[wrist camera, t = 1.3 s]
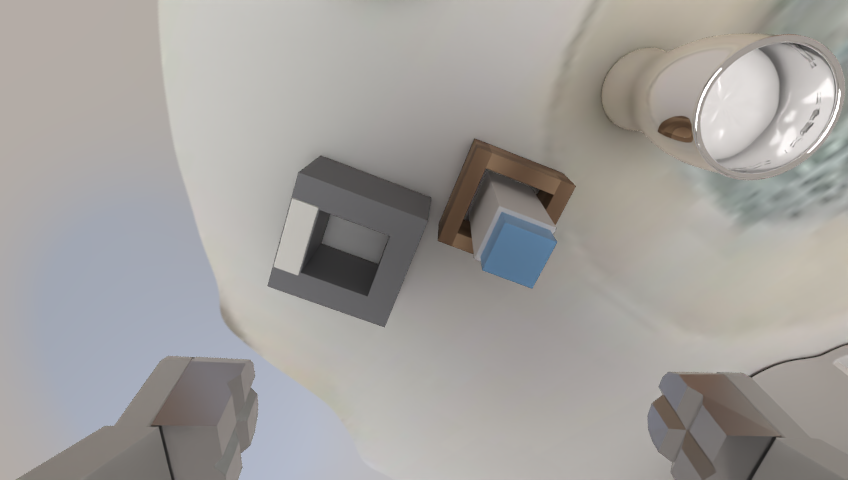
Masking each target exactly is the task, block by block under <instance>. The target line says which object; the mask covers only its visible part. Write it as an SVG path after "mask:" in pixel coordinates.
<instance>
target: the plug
mask: <svg viewBox="0 0 848 480" xmlns="http://www.w3.org/2000/svg"><path fill="white" fill-rule="evenodd" d="M469 219H470V227H471V235H472V244H473V252H474V259H475V260H478V261H480V262H481V265H482V270H483V271H486V272H488V273H491V274H494V275H497V276H499V277H502V278H505V279H507V280H510V281H513V282H516V283H518V284H521V285H524V286H526V287H529V288H533V286H534V284H535V283H536V281H537V279H538V277H539V275H540V273H541V271H542V270H543V268H544V266H545V264H546V262H547V260H548V258H549V257H550V255H551V253H552V251H553V249H554V247H555V245H556V244H557V241H556V239H555V237H554V236H553V234H554V232H555V230H556V229H557V228H556V226H555V224H554V223H553V221H552V220H551V218H550V216H549V215H548V213H547V212H546V210H545V208H544V207H543V205H542V204H541V202H540V200H539V199H538V197H537V196H536V194H535V192H534V191H533V189H532V188H531V186H528V185H525V184H523V183H520V182H518V181H515V180H513V179H510V178H508V177H505V176H502V175H500V174H497V173H495V172H492V171H490V170H487V171H486V174H485V176H484V178H483V180H482V183H481V185H480V187H479V189H478V192H477V194H476V196H475V199H474V201H473V203H472V205H471V208H470V210H469Z"/></svg>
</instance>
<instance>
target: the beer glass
mask: <svg viewBox="0 0 848 480" xmlns="http://www.w3.org/2000/svg"><path fill="white" fill-rule="evenodd" d="M844 96H845V81H844V75H843V71H842V68H841V66H840V63H839V62H838V60H837V58H836V57H835V55H834V54H833V53H832V52H831V51H830V50H829V49H828V48H827V47H826V46H825V45H823V44H822V43H820V42H818V41H816V40H814V39H812V38H809V37H806V36H801V35H794V34H783V35H775V34H758V33H739V34H725V35H718V36H711V37H706V38H702V39H699V40H696V41H693V42H690V43H687V44H684V45H682V46H680V47H677V48H675V49H673V50H670V51H668V52H667V51H665V50H662V49H659V48H651V47H649V48H641V49H637V50H634V51H632V52H630V53H628V54H626V55H625V56H623V57H622V58H620V59H619V60H618V61H617V62H616V63H615V64H614V65H613V66H612V68H611V69H610V70H609V72H608V74H607V76H606V78H605V80H604V83H603V87H602V93H601V99H602V105H603V109H604V111H605V113H606V115H607V116H608V118H609V119H610V120H611V121H612V122H613V123H614V124H615V125H617V126H618V127H620V128H623V129H626V130H630V131H642V132H643V133H644V134H645V135H646V136H647V138H648V139H649V140H650V141H651V142H652V143H654V144H655V145H656V146H657V147H658V148H660V149H661V150H662V151H663V152H665V153H666V154H668V155H670V156H672V157H674V158H676V159H678V160H680V161H682V162H684V163H687V164H689V165H692V166H695V167H698V168H701V169H704V170H708V171H711V172H715V173H719V174H722V175H725V176H727V177H730V178H734V179H740V180H759V179H765V178H770V177H773V176H776V175H779V174H782V173H784V172H786V171H788V170H790V169H792V168H794V167H796V166H797V165H799V164H800V163H802V162H803V161H805V160H806V159H807V158H809V157H810V156H811V155H812V154H813V153H814V152H815V151H816V150H817V149H818V148H819V147H820V146H821V145H822V144H823V143H824V142H825V140H826V139H827V138H828V136H829V135H830V133H831V132H832V130H833V128H834V127H835V125H836V123H837V121H838V119H839V116H840V113H841V110H842V107H843V103H844Z"/></svg>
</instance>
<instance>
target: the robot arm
mask: <svg viewBox="0 0 848 480" xmlns="http://www.w3.org/2000/svg"><path fill="white" fill-rule="evenodd" d="M254 378H255V371H254V365H253V362H252V361H251V360H247V359H227V358H208V357H179V356H167V357H166V358H164V359H162V360H161V361H160V362H159V364H158V365H157V367H156V368H155V369H154V371H153V372H152V374H151V375H150V376H149V378H148V379H147V380H146V382H145V383H144V385H143V386H142V387H141V389H140V390H139V392H138V393H137V394H136V396H135V397H134V399H133V400H132V402H131V403H130V404H129V406H128V407H127V409H126V410H125V411H124V413H123V414H122V416H121V417H120V419H119V420H118V421H117V423H116V424H115V425H114V426H104V427H102V428H101V429H99V430H98V431H96V432H94V433H92V434H91V435H89V436H87V437H86V438H84V439H82V440H81V441H79V442H77V443H76V444H74V445H72V446H71V447H69V448H68V449H66V450H64V451H62V452H61V453H59V454H58V455H56V456H54V457H53V458H51V459H49V460H48V461H46V462H44V463H43V464H41V465H39V466H38V467H36V468H34V469H33V470H31V471H30V472H28V473H26V474H24V475H23V476H21V477H19V478H18V479H16V480H238V478H239V475H240V473H241V470H242V461H241V453H242V452H243V451H244V450H246V449H247V448H248V447H249V446H250V445H251V441H252V439H253V435H254V433H255V428H256V422H257V417H258V397H257V393H256V392H255V391H254V390H253V389H252V388H251V385H252V383H253V380H254ZM659 389H660V391H661V393H662V396H661V397H659V398H658V399H657V400H655V401H654V402H653V403H652V404H651V407H650V410H649V413H648V430H649V433H650V436H651V439H652V441H653V443H654V445H655V447H656V448H657V450H658V452H659V453H661V454H662V455H663V456H665V457H666V458H667V459H669V460H670V461H671V462H672V466H671V474H672V475H673V477H674V479H675V480H848V345H845V346H842V347H840V348H837V349H835V350H833V351H831V352H828V353H826V354H824V355H822V356H818V357H814V358H808V359H801V360H795V361H790V362H786V363H783V364H779V365H776V366H774V367H771V368H769V369H766V370H764V371H762V372H760V373H759V374H757V375H755V376H754V377H752V378H751V377H749V376H747V375H745V374H743V373H720V372H718V373H699V372H668V373H667V374H666V375H665V376H663V377H662V380H661V382H660V385H659Z"/></svg>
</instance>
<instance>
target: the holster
mask: <svg viewBox="0 0 848 480" xmlns="http://www.w3.org/2000/svg"><path fill="white" fill-rule="evenodd" d="M486 168H487V169H489V170H492V171H494V172H497V173H499V174H502V175H504V176H507V177H510V178H512V179H515V180H517V181H520V182H522V183H525V184H527V185H530V186H533V187H535V188H538V189H540V190H539V192H538V194H537V197H538V199H539V200H540V202H541V204H542V205H543V207H544V208H545V210H546V212H547V213H548V215H549V216H550V218H551V220H552V221H553V223H554V224H555V225H556V223H557V221H558V219H559V217H560V215H561V213H562V211H563V210H564V208H565V206H566V204H567V202H568V200H569V198H570V196H571V194H572V193H573V191H574V189H575V187H576V186H575V185H574V184H573V183H572V182H571V181H570V180H569V179H568V178H567V177H566V176H565V175H564V174H563V173H561V172H558V171H556V170H553V169H551V168H548V167H546V166H543V165H541V164H538V163H536V162H533V161H531V160H528V159H525V158H523V157H520V156H518V155H515V154H513V153H510V152H508V151H505V150H503V149H500V148H498V147H495V146H493V145H490V144H488V143H485V142H482V141H480V140H477V139H474V141H473V143H472V146H471V148H470V151H469V153H468V155H467V158H466V160H465V163H464V165H463V167H462V170H461V172H460V175H459V177H458V179H457V182H456V184H455V187H454V189H453V191H452V194H451V196H450V199H449V201H448V203H447V206H446V208H445V210H444V213H443V215H442V218H441V220H440V222H439V230H438V241H439V242H442V243H445V244H447V245H450V246H453V247H456V248H458V249H461V250H464V251H466V252H469V253H472V254H474V252H473V244H472V235H471V227H470V222H469V221H467V220H464V217H465V214H466V212H467V210H468V208H469V205H470V203H471V201H472V199H473V196H474V194H475V192H476V189H477V187H478V185H479V183H480V180H481V178H482V176H483V173H484V171H485V169H486Z"/></svg>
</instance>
